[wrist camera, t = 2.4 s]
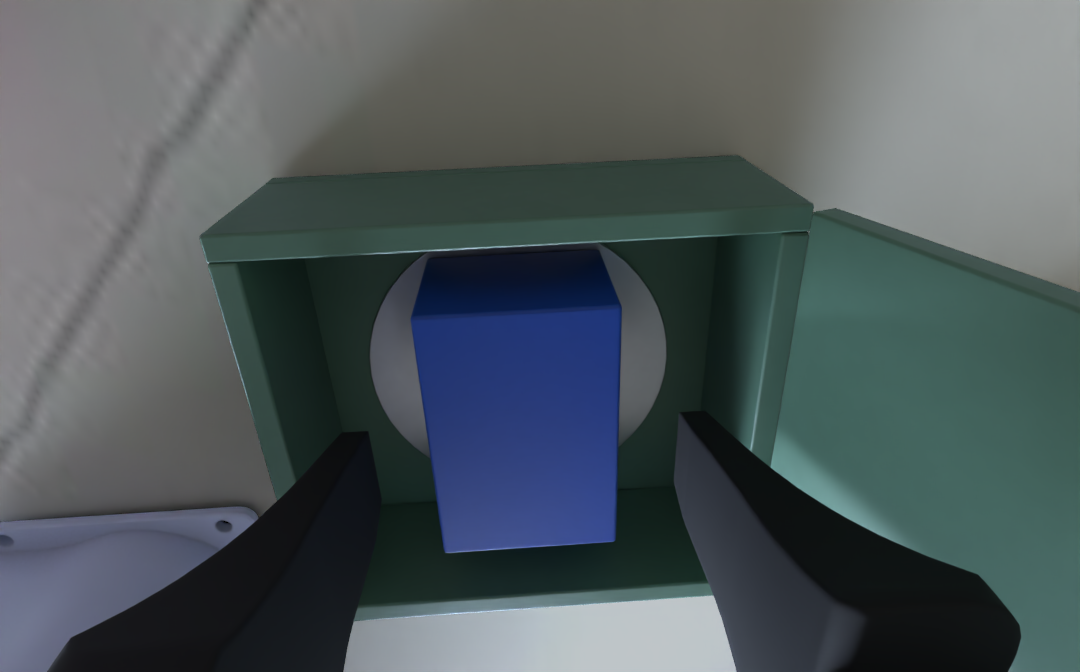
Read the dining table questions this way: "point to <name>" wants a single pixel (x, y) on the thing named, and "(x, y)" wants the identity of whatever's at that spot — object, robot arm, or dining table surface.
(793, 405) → the lid
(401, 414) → the plate
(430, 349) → the block
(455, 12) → the dining table surface
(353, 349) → the box
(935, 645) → the robot arm
